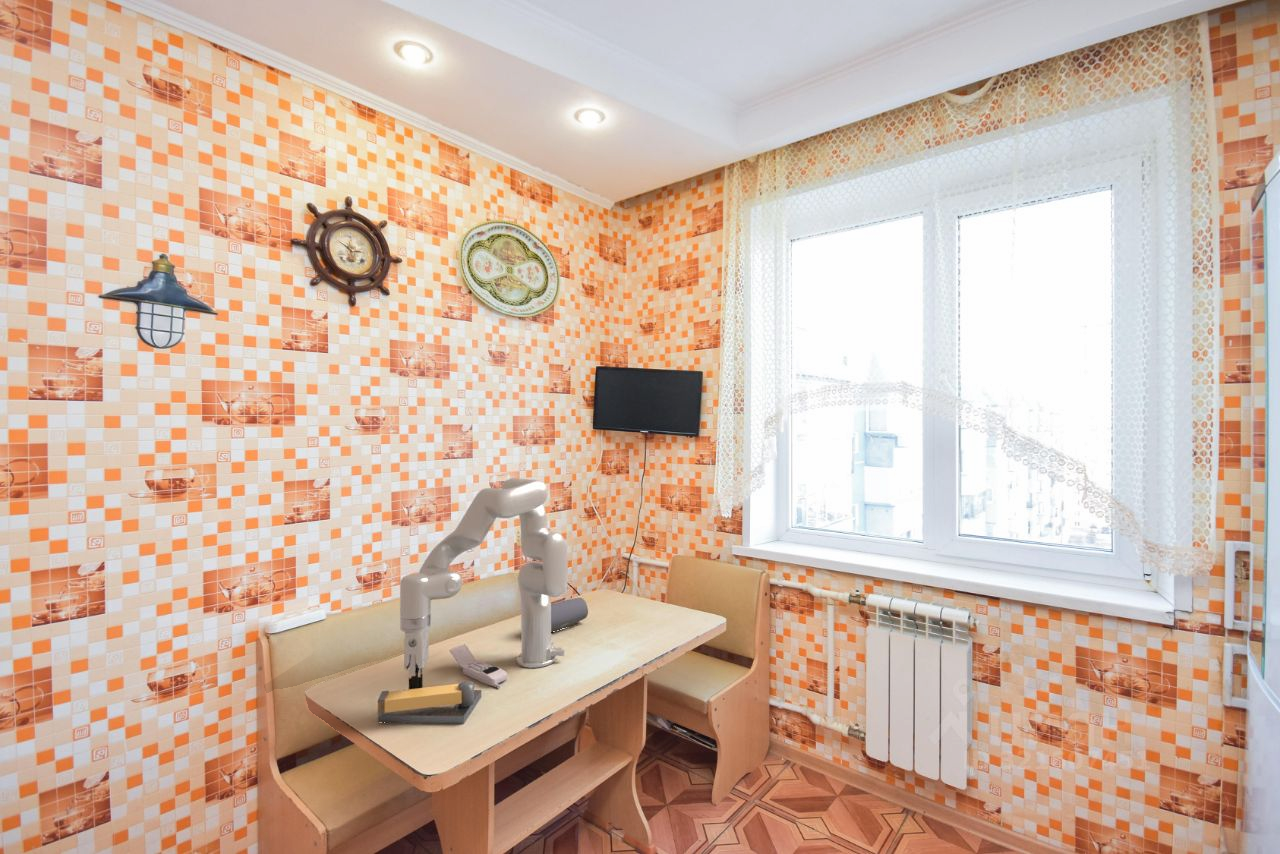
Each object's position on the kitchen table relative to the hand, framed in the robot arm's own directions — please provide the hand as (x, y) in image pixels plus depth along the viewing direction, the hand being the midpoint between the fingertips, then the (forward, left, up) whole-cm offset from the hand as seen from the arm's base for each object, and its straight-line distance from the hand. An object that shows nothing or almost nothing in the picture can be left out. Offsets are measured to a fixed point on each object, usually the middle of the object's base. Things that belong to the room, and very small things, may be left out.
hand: (415, 690), depth 145 cm
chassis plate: (-4, -1, -5) cm, 7 cm away
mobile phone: (-10, -22, -6) cm, 25 cm away
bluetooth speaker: (-27, -61, -6) cm, 67 cm away
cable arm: (-5, +3, -3) cm, 6 cm away
